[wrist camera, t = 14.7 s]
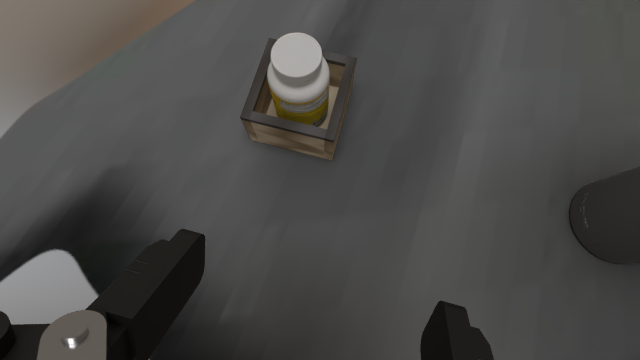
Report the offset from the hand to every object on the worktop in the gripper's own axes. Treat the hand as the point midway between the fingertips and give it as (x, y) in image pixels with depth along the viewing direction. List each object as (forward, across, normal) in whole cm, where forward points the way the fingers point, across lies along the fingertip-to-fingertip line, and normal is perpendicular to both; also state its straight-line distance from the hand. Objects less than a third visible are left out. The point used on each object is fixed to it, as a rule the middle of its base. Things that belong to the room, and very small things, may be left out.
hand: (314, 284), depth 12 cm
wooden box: (+32, +7, +6) cm, 33 cm away
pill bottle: (+31, +7, +5) cm, 32 cm away
